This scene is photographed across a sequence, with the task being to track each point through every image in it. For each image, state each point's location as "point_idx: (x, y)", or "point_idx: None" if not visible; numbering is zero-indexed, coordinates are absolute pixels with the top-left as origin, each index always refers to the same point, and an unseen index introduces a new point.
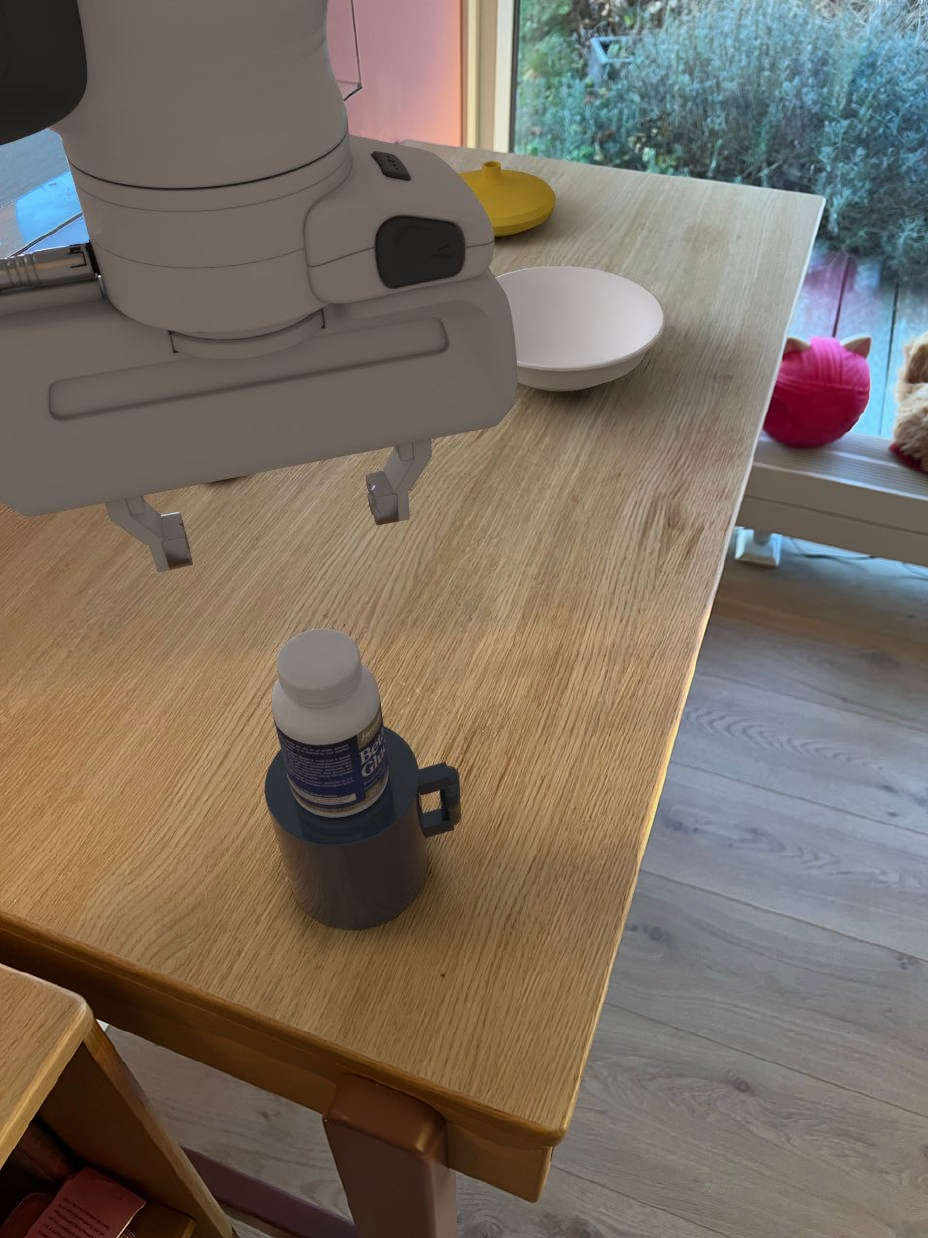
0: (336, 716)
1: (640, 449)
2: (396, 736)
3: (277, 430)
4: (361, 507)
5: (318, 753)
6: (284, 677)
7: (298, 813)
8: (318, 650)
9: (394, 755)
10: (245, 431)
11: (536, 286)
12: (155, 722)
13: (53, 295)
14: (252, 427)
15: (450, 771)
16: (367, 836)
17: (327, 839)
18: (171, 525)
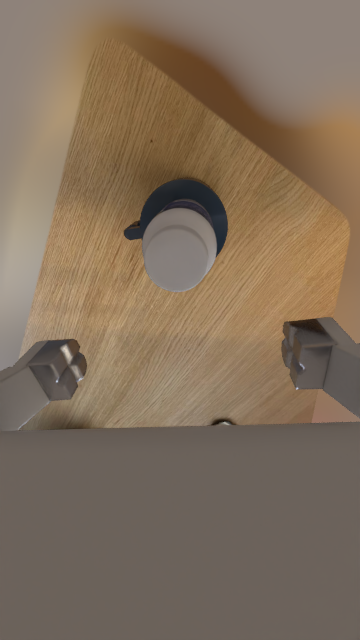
0: (170, 221)
1: (52, 403)
2: None
3: (74, 557)
4: (168, 398)
5: (188, 207)
6: (203, 246)
7: (210, 209)
8: (175, 270)
9: None
10: (168, 586)
11: None
12: (269, 312)
13: None
14: (139, 604)
15: (127, 233)
16: (171, 183)
17: (195, 185)
18: (313, 370)
